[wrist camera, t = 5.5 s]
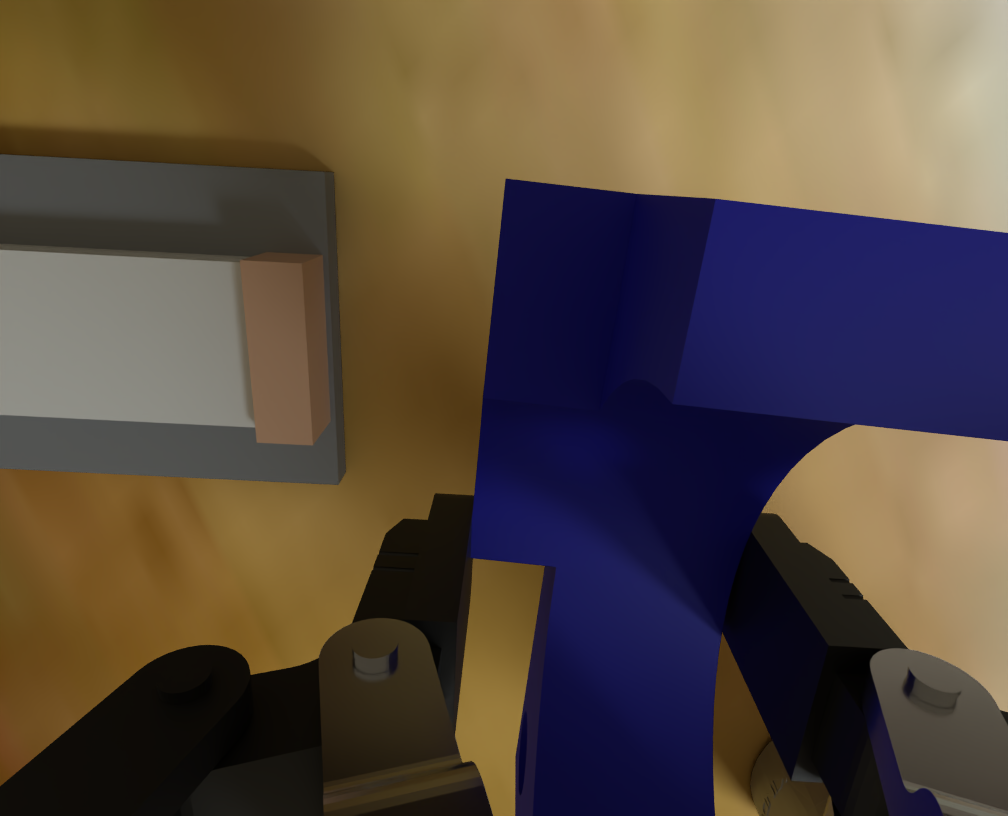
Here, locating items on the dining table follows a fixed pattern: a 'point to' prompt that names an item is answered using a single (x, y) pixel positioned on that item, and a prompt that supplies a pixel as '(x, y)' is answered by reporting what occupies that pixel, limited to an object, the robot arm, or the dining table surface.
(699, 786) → the blue curved block
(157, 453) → the rail board
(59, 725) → the dining table surface
